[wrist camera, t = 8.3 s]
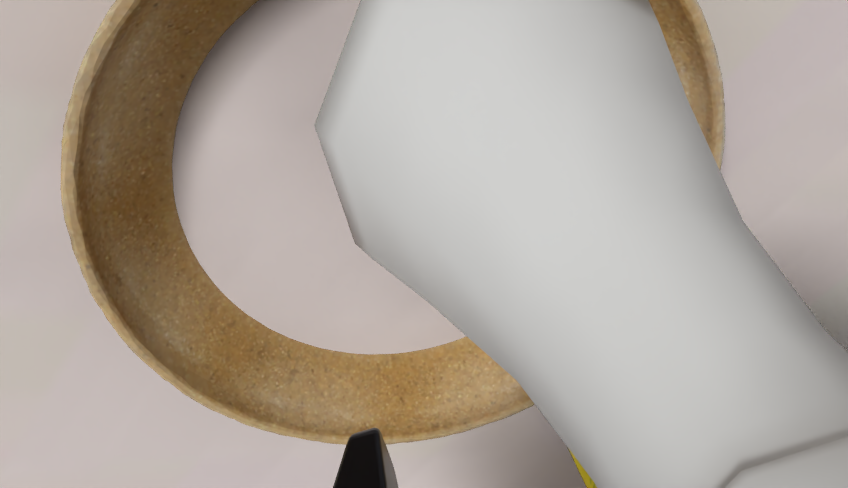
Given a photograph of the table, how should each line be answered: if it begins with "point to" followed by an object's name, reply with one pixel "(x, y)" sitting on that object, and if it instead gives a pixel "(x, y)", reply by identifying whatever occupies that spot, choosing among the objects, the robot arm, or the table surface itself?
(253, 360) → the plant saucer
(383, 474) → the robot arm
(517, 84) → the flask
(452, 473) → the table surface
